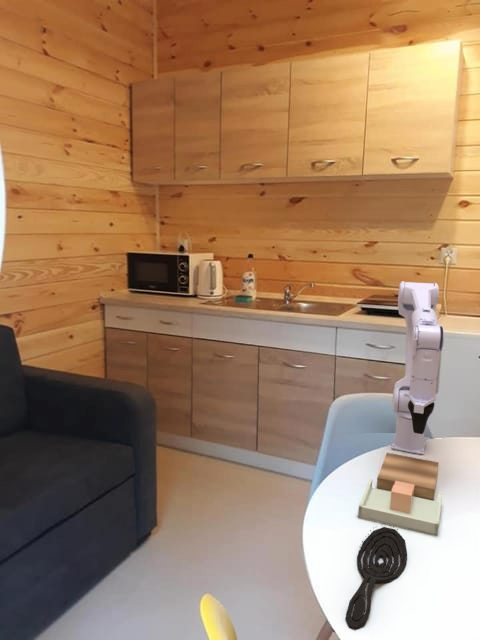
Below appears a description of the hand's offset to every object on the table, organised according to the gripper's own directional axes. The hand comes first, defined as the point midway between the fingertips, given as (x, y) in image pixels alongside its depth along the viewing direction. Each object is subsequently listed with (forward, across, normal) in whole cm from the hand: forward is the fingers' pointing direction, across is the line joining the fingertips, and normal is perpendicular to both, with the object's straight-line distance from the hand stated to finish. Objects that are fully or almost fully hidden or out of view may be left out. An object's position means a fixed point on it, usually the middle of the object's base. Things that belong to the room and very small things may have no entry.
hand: (418, 432), depth 127 cm
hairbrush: (+11, +42, -3) cm, 44 cm away
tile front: (+8, +17, -1) cm, 18 cm away
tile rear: (+10, +14, -1) cm, 18 cm away
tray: (+10, +18, -1) cm, 21 cm away
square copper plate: (+10, +5, -1) cm, 11 cm away
